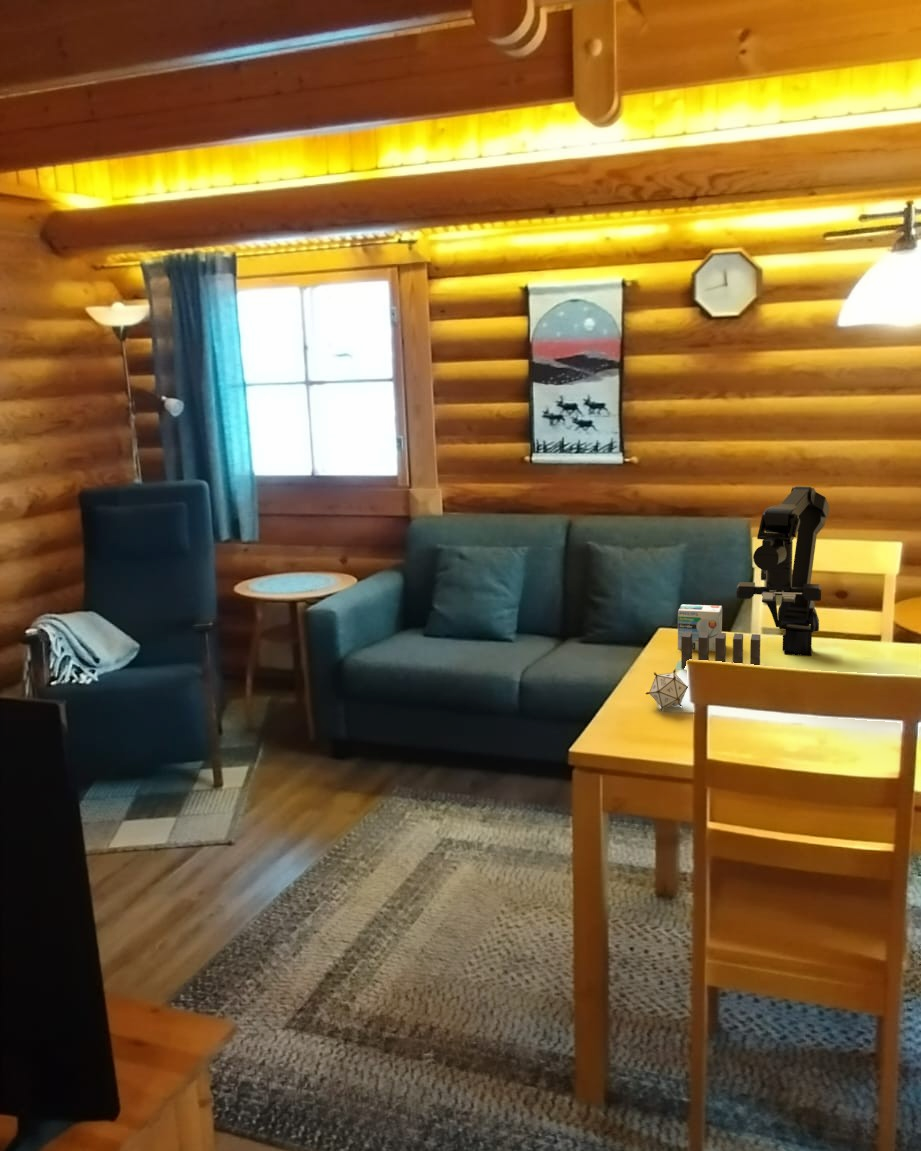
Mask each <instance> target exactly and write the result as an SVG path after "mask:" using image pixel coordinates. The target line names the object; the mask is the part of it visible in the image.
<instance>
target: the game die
mask: <svg viewBox="0 0 921 1151" xmlns="http://www.w3.org/2000/svg"><path fill="white" fill-rule="evenodd" d="M676 672H677V671H676V670H675V669H673V671H672V672H669V673H668V672H667V673H662V674H657V672H653V675H654V676H655V677H654V679H653V682H652V685H651V687H650V690H649V692H648V691H647V692H645V695H650V696H651V697H652V698H653V700H654V701H655V702H656V703H657V704H658V705H659V706H660V712H663V710H664V708H670V707H676V706H679V707H680V706H682V707H683V704H682V702H683V700H684V697H685V694H686V692H687V690H688V689H689V688H688V686H689V685H686V683H685V682H684V681H683V680H682V679H681V677H679V676H678V675H677V673H676Z"/></svg>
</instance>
